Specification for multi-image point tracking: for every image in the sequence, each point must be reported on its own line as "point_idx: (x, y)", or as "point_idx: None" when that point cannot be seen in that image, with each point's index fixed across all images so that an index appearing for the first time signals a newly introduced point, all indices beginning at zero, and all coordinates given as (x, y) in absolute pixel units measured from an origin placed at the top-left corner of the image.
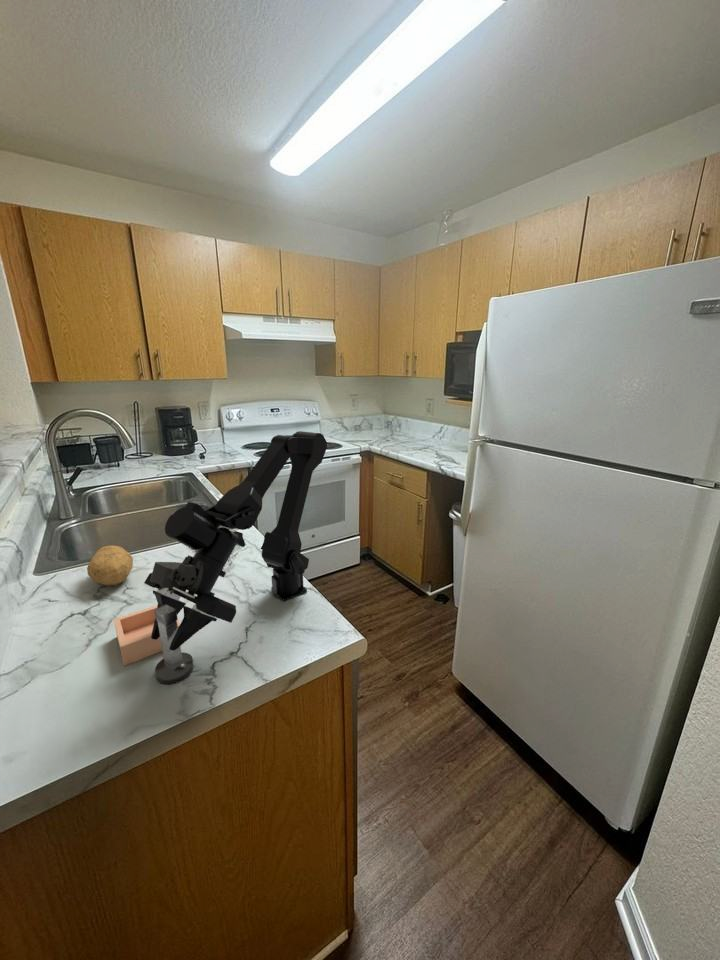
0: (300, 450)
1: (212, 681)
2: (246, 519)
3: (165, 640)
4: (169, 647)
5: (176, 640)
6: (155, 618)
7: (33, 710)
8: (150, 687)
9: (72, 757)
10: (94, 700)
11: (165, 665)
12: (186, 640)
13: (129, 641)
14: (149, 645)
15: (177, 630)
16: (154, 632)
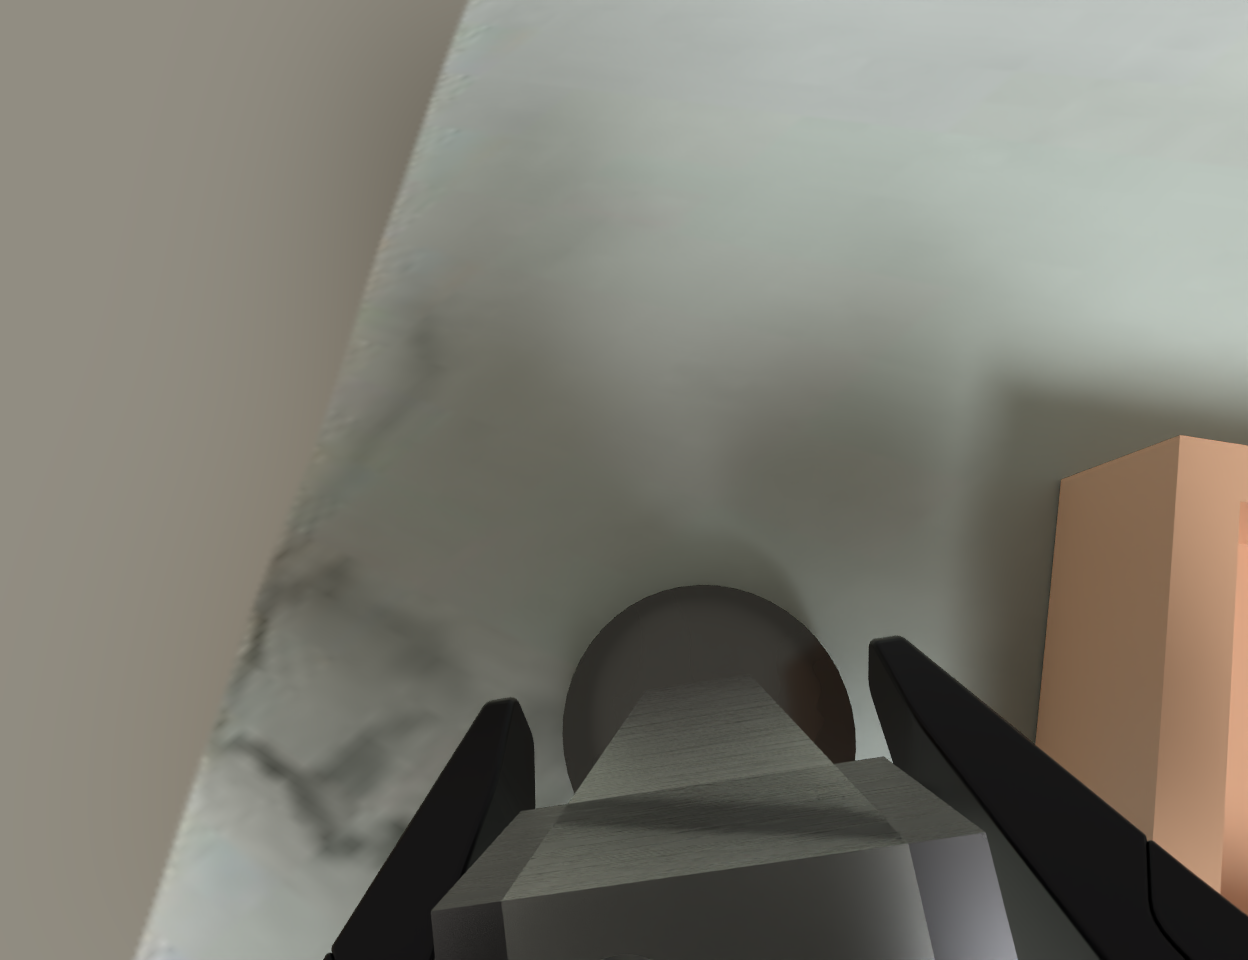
0: None
1: None
2: None
3: (669, 729)
4: (510, 704)
5: (426, 805)
6: (1113, 816)
7: (1016, 10)
8: (682, 532)
9: (509, 108)
10: (838, 256)
11: (741, 675)
12: None
13: (1219, 529)
14: (1097, 682)
15: None
16: (896, 686)
